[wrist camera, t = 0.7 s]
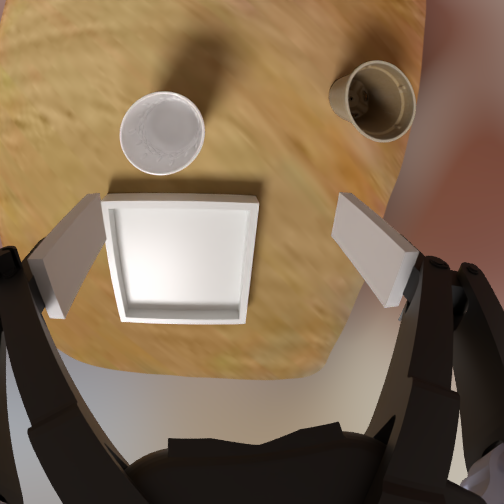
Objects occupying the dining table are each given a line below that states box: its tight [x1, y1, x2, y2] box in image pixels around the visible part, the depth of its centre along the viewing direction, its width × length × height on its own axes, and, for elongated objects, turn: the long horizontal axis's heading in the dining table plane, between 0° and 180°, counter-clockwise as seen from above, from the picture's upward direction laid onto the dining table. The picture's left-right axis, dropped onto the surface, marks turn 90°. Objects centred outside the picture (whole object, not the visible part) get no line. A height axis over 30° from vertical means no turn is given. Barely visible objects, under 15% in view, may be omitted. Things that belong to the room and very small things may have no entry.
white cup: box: [120, 91, 205, 175], centre depth 28 cm, size 8×8×10 cm
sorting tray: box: [101, 193, 259, 324], centre depth 40 cm, size 20×20×3 cm
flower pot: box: [329, 60, 416, 142], centre depth 29 cm, size 9×9×9 cm
